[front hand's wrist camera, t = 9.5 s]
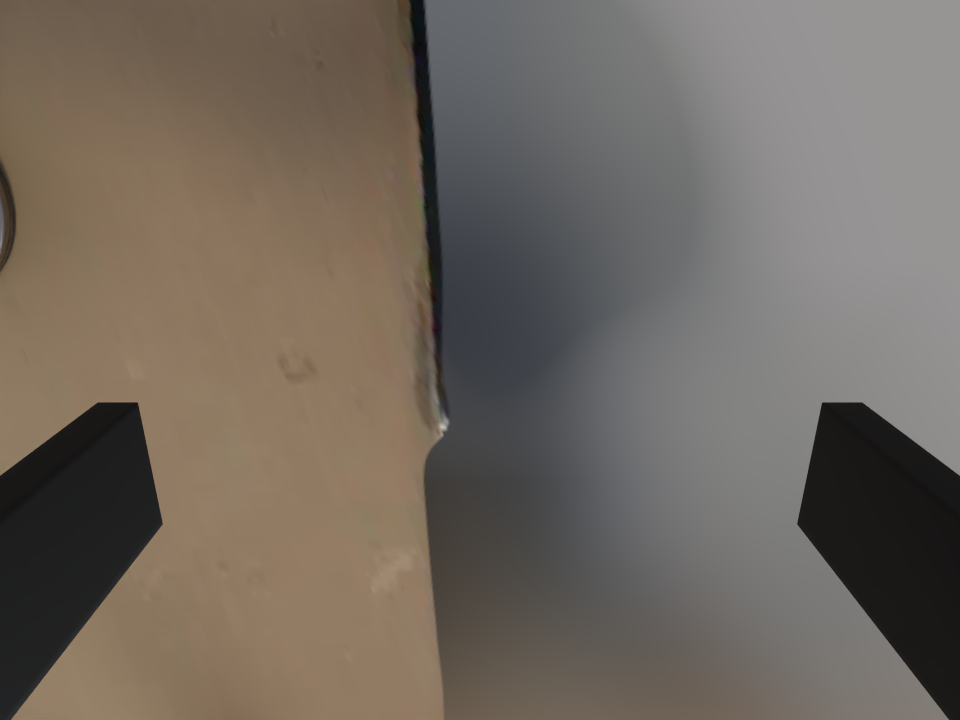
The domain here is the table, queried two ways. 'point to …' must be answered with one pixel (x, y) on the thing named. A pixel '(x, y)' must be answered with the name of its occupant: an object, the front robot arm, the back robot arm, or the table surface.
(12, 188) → the table surface
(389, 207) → the table surface
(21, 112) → the table surface
